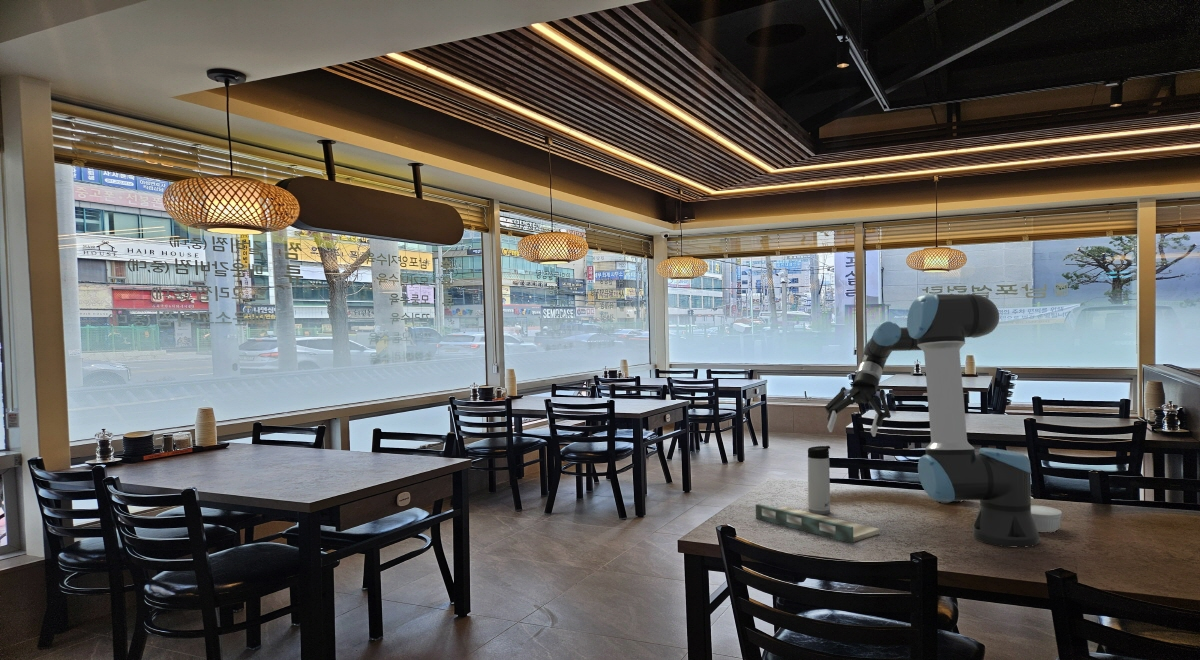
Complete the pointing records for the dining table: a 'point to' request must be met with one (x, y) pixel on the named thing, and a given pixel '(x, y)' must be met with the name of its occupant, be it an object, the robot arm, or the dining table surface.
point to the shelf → (815, 523)
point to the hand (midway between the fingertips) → (850, 431)
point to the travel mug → (818, 480)
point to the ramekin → (1046, 518)
